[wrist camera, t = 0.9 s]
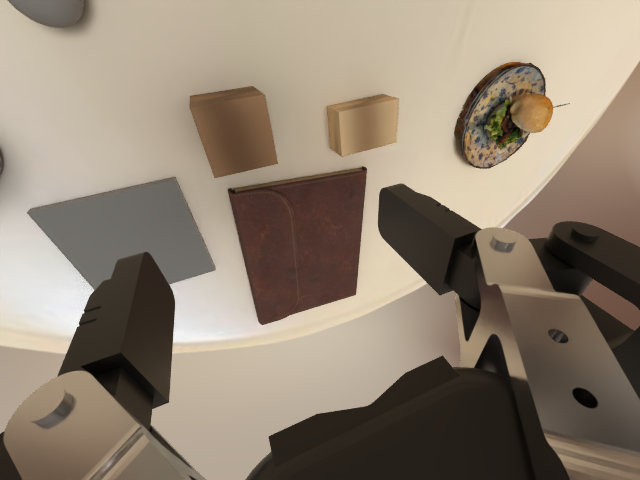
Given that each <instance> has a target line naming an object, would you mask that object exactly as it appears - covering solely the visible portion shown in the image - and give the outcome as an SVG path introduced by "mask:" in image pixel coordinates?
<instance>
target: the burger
mask: <svg viewBox="0 0 640 480" xmlns="http://www.w3.org/2000/svg"><path fill="white" fill-rule="evenodd" d="M545 86H546V84H545V78H544V76H543V74H542V72H541V71H540V69H539V68H538V67H536V66H534V65H533V64H532V63H527V64H525V63H523V64H522V63H520V62H510V63H507V64H504V65H501V66H500V67H498V68H496V69H494V70H493V71H492V72H490V73H489V74H488V75H486V76H485V77H484V78H483V79H482V80H481V81H480V82H479V83H478V84H477V86H476V87H475V88H474V89H473V91H472V92H471V94H470V95H469V96H468V98H467V100H466V102H465V105H463V106H464V107H463V108H464V110H463V111H461V112H462V113H460V115H459V116H460V118H458V122H457V125H456V127H455V135H456V136H457V137H458V138H459V139H460V140H461V147H462V148H461V150H462V155H463V156H464V157H465V158H466V160H467V161H468V162H469V164H470V165H472V166H473V167H476V168H483V169H487V168H491V167H493V166H495V165H497V164H499V163H501V162H503V161H505V160H506V159H508V158H509V157H510V156H511V155H512V154H514V153H515V152H516V151H517V150H518V149H519V148H520V147H521V146H522V145H523V144H524V143H525V142H526V141H527V138H528V135H529V134H530V132H531V133H537V132H541V131H542V130H543V129H544V128H546V126H547V125H548V123H549V122H550V120H551V117H552V114H553V108H554V107H553V105H552V102H551V101H550V99H549V98H548V97H546V96H545V92H546V90H545ZM569 104H570V103H569ZM564 105H567V104H564ZM559 106H563V105H559ZM556 107H558V106H556Z"/></svg>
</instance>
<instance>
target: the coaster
mask: <svg viewBox="0 0 640 480" xmlns="http://www.w3.org/2000/svg"><path fill="white" fill-rule="evenodd" d="M27 213H28V214H29V215H30V217H31V218H32V219H33V220H34V221H35V222H36V223H37V225H38V226H39V227H40V228H41V229H42V230H43V231H44V233H45V234H46V235H47V236H48V237H49V238H50V239H51V241H52V242H53V243H54V244H55V245H56V246H57V247H58V249H59V250H60V251H61V252H62V253H63V254H64V255H65V257H66V258H67V259H68V260H69V261H70V262H71V263H72V265H73V266H74V267H75V268H76V269H77V270H78V271H79V273H80V274H81V275H82V276H83V277H84V278H85V279H86V281H87V282H88V283H89V284H90V285H91V286H92V287H93V289H94V290H96V288H97V287H98V286H99V285H100V284H101V283H102V282H103V281H104V280H108V279H111V276H112V273H113V271H114V268H115V265H116V262H117V260H118V259H121V258H125V257H128V256H132V255H136V254H139V253H143V252H148V253H150V254H151V256H152V257H153V259H154V260H155V262H156V264H157V265H158V267H159V269H160V270H161V272H162V274H163V275H164V277H165V279H166V280H167V282H168V284H172V283H175V282H178V281H181V280H185V279H188V278H191V277H195V276H198V275H201V274H204V273H208V272H211V271H214V270H215V266H214V263H213V261H212V259H211V257H210V255H209V252H208V250H207V248H206V246H205V243H204V241H203V239H202V237H201V234H200V232H199V230H198V228H197V225H196V223H195V221H194V219H193V216H192V214H191V212H190V210H189V208H188V205H187V203H186V201H185V199H184V196H183V194H182V192H181V190H180V187H179V185H178V183H177V181H176V178H175V177H173V178H169V179H164V180H160V181H155V182H151V183H146V184H142V185H137V186H133V187H128V188H123V189H119V190H114V191H110V192H105V193H101V194H96V195H92V196H87V197H83V198H78V199H74V200H69V201H65V202H60V203H55V204H51V205H46V206H42V207H37V208H33V209H30V210H29V211H28V212H27Z"/></svg>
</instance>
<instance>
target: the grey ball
mask: <svg viewBox="0 0 640 480" xmlns="http://www.w3.org/2000/svg"><path fill="white" fill-rule="evenodd" d="M8 1H9V2H10V3H11V4H12V5H13V6H14V7H15V8H16V9H17V10H18V11H20V12H21V13H22V14H24V15H25V16H27V17H28V18H30V19H32V20H34V21H36V22H38V23H40V24H43V25H46V26H50V27H56V28H62V27H68V26H71V25H73V24H75V23H76V22H77V21H78V20H79V19H80V17H81V15H82V13H83V8H84V0H8Z"/></svg>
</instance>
